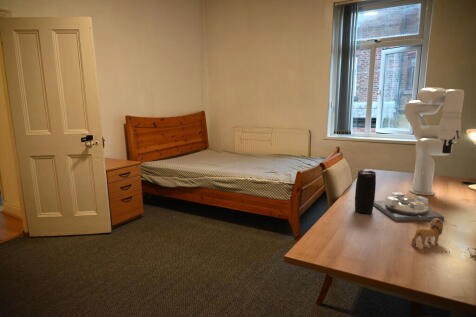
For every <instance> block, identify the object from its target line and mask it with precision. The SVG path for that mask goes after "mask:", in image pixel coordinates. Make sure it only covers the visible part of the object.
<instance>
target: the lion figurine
mask: <svg viewBox="0 0 476 317" xmlns="http://www.w3.org/2000/svg"><path fill="white" fill-rule="evenodd" d="M429 222H430V223H429V224H430V225H429V227H419V228H417V229H416V231H415V234H414V237H413V238H412V239H411V245H412V246H413V248H416V247H417V239H418V238H419V237H420V239H421V245H422V246H423V247H424V248H425V249H426V248H428V245H426V241H427V242H429V243H431V242H432V238H434V245H439V243H438V241H439V238H440V237H439V236H441V235H442V233H443V229H444V228H443V227H444V223H443V221H441V220H440V219H437V218H435V219H433V220H432V221H429Z"/></svg>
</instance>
